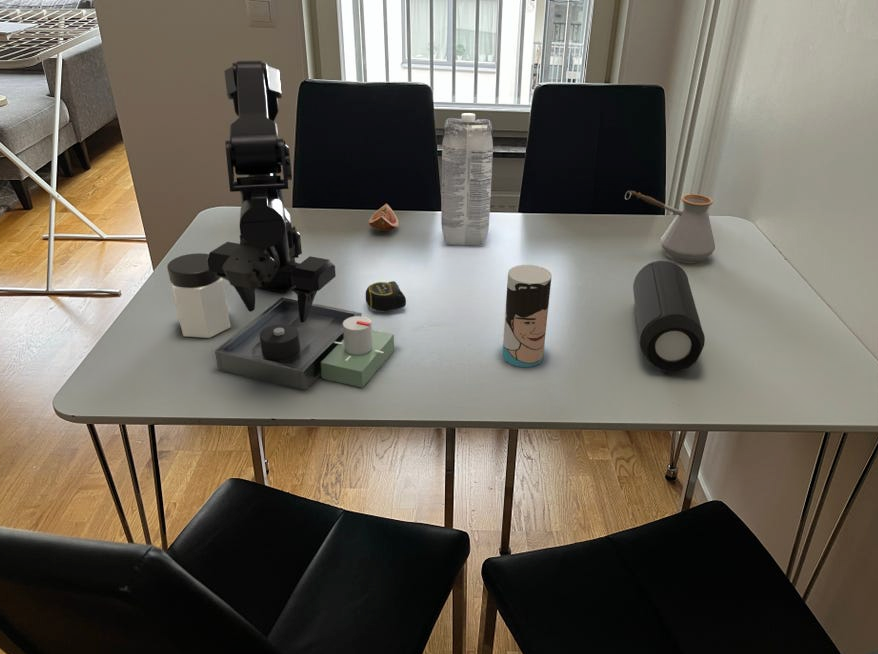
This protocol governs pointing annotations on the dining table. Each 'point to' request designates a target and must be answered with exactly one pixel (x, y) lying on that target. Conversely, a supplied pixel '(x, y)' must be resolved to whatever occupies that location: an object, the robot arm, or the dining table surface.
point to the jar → (198, 296)
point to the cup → (526, 315)
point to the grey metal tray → (274, 370)
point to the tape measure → (385, 296)
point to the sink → (310, 336)
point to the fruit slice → (384, 219)
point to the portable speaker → (667, 317)
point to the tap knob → (357, 335)
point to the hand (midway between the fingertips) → (277, 315)
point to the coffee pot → (686, 228)
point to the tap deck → (357, 361)
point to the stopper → (280, 341)
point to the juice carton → (466, 180)
